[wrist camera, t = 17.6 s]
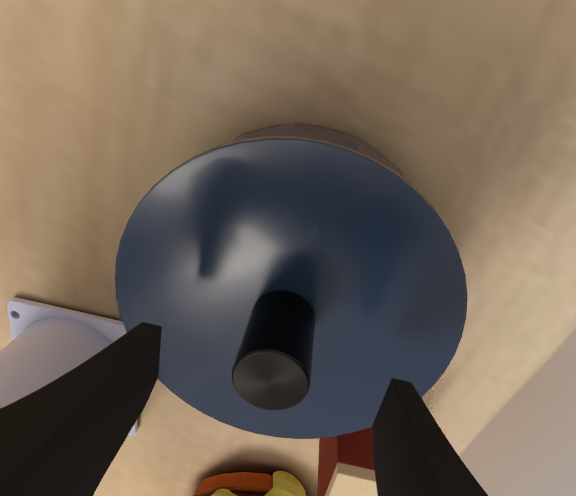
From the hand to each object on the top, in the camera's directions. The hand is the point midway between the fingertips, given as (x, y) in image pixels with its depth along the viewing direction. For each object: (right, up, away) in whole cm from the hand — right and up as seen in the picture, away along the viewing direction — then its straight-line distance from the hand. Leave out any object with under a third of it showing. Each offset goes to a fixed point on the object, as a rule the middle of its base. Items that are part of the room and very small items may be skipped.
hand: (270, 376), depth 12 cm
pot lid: (0, +2, +3) cm, 4 cm away
